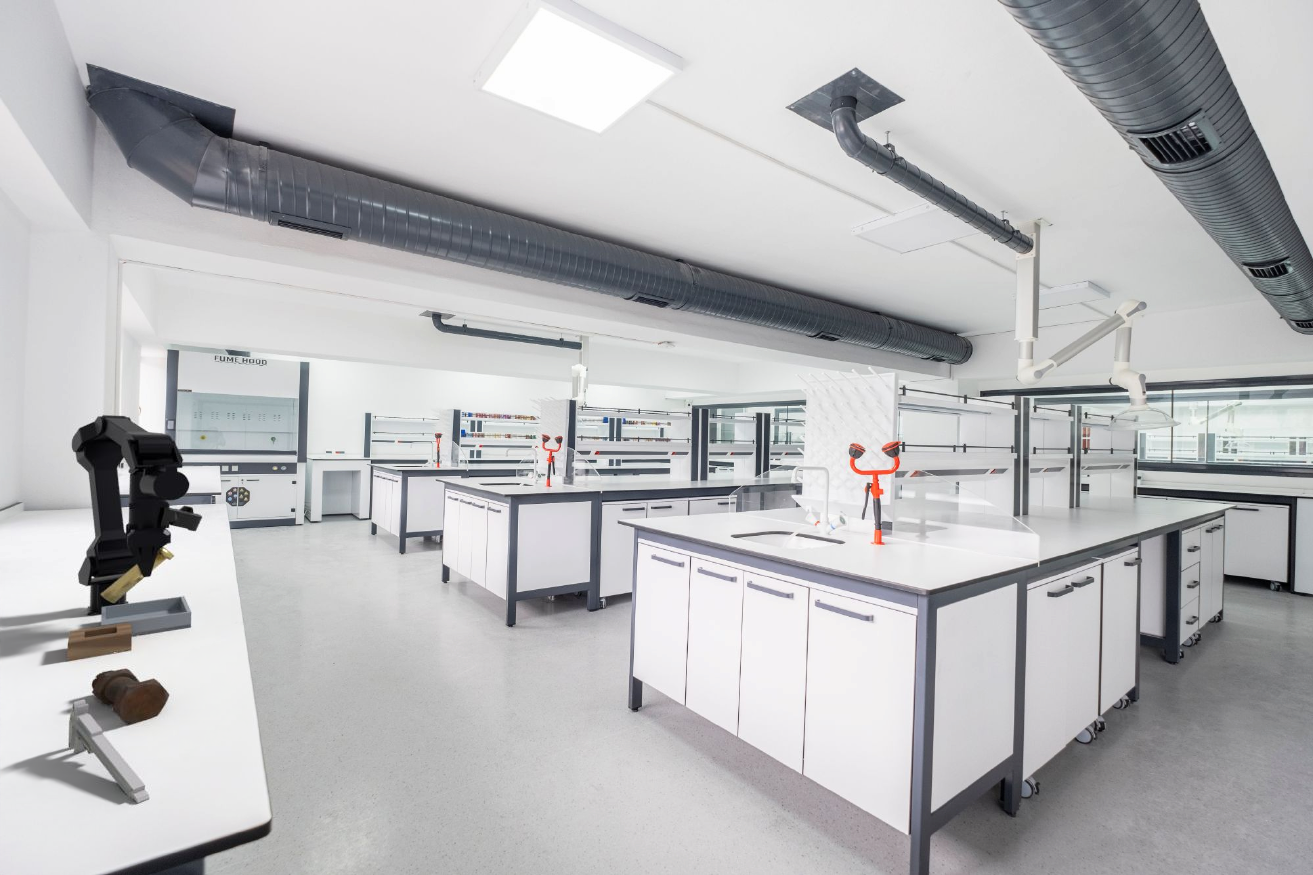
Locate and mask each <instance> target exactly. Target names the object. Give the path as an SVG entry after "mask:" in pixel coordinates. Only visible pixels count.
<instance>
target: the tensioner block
mask: <svg viewBox="0 0 1313 875" xmlns="http://www.w3.org/2000/svg"><path fill="white" fill-rule="evenodd" d="M132 642H133V638H132V631H131V622H129V623H122V624H116V625H109V626H102V627H101V626H97V627H91V628H84V629H77V630H70V631H69V634H68V641H67V653H66V654H67V657H66V658H67V662H71V661H78V660H84V659H88V658H93V657H99V656H106V654H107V655H112V654H111V653H113V654H115V653H114V652H118V653H122V652H121V651H124V652H126V651H125V650H130V649H131V650H132V647H133V646H132V645H133V644H132ZM131 650H130V651H131Z"/></svg>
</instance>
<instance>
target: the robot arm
mask: <svg viewBox="0 0 1313 875" xmlns="http://www.w3.org/2000/svg"><path fill="white" fill-rule="evenodd" d="M71 449H72V451H73V452H74V453H75V457H76V462H77V463H78V464H79V465H80V467H82V468H83V469H84V470H86V472H87V473H88V481H89V489H90V490H89V491H90V499H91V509H92V518H93V526H94V527H93V528H94V539H93V540H92V542H91V543H90V545H89V547H88V548H87V549H86V552H85V553H86V556H85V558H84V560H83V562H82V564H81V566H80V567H79V570H78V573H77V576H78V584H79V585H80V584H81V585H82V586H85V587H90V588H89V589H90V590H89V591H90V592H89V594H90V595H89V605H88V606H87V610H86V615H87V616H91V615H99V614H102V607H106V606H114V605H121V604H129V600H128V601H127V593H125V594H124V595H123V596H122V597H121V598H120V599H118V600H117V601H116V602H115V603H112V602H110V601H108V600H106V599H105V598H104V597H102V596H101V593H103V592H104V591H105V590H106V589H107V588H109V587H110V586H111V585H112V584H113V583H115V582H116V581H117V580H118V579H119V578H121V577H122V576H123V575H124V574H125V573H127V572H128V571H129V570H130V569H132V568H133V567H134V566H135V565H136V564H137V565H138V567H139V569H140V571H141V573H142V575H143V577H144V578H151V576H152V572H153V571H154V570H153V567H154V563H155V560H156V556H157V553H158V551H159V550H160V549H161V548H162V547H164V548H165V546H167V545H168V544H171V543H172V533H171V531H170V530H168V529H170V526H173V527H178V528H183V529H186V530H188V531H190V532H197V530H198V528H199V525H200V524H201V521H202V519H203V516H202V515H201V514H199V513H194V508H193V507H191V506H188V505H182V506H181V507H180V508H179V509H178V508H172V507H170V506H171V505H170V502H169V501H177V500H179V499H181V498H183V497H184V496H185V495H186V494H187V493H188V491H189V489H190V481H189V479H188V477H187V476H186V475H185V474H184V473H183V472H181V471H179V470H178V469H182V468H183V462H184V458H183V456H182V454H181V452H180V450H179V448H178V446H177V444H176V441H175V440H173V438H172V436H171V435H169V434H167V433H162V432H153V431H152V432H151V431H148V430H146V429H144V428H143V427H141V426H140V425H138V424H136V423H135V422H133V421H132V420H131V418H130V416H128V417H127V416H126V415H112V414H111V415H107V414H102V415H100V416H99V415H98V416H96V418H95V420H94V421H93V422H90V423H88V424H86V425H84V426H81V427H79V428H78V429H77V431H76V432H75V433H74V435H73V437H72V439H71ZM123 460H125V462H126V464H127V466H128V467H129V469H128V474H129V490H128V491H129V494H128V495H129V498H128V521H127V522H128V523H126V524H125V526H124V518H123V516H124V515H123V509H122V498H121V492H120V491H121V490H120V481H119V475H118V474H119V473H118V467H119V466H120V465H121V463H122V461H123ZM152 570H153V571H152Z"/></svg>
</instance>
